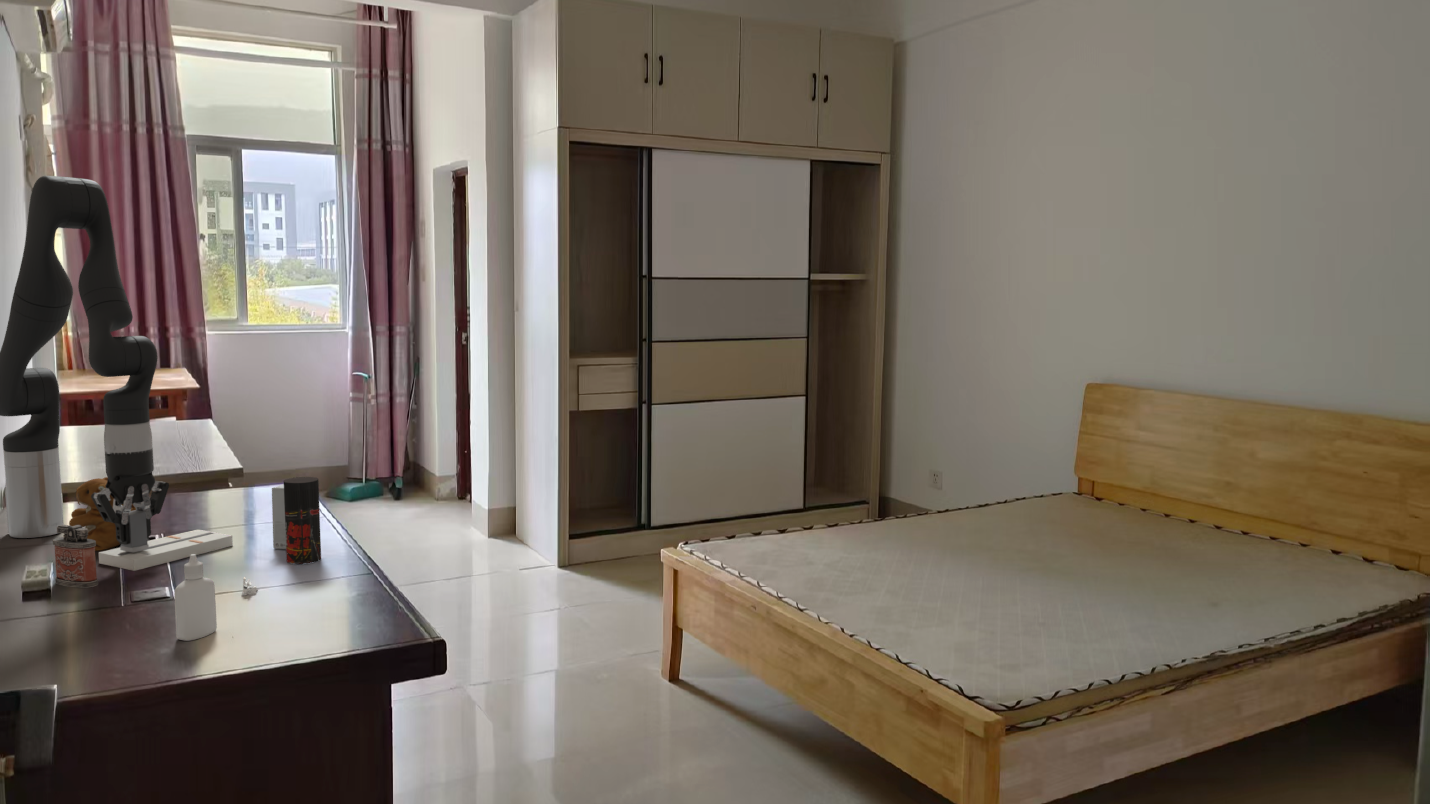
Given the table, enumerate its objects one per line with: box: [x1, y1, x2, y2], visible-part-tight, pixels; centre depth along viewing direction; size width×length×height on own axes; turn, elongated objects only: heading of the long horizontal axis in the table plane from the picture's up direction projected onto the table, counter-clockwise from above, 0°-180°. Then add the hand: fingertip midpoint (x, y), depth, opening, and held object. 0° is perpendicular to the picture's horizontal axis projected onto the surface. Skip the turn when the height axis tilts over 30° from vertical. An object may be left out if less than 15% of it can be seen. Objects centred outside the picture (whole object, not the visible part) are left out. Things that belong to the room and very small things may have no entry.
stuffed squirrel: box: [68, 476, 136, 552], centre depth 199 cm, size 10×14×13 cm
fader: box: [119, 510, 149, 552], centre depth 187 cm, size 4×3×7 cm
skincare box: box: [271, 483, 286, 550], centre depth 199 cm, size 6×4×12 cm
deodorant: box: [283, 476, 322, 565], centre depth 189 cm, size 6×6×15 cm
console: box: [98, 529, 234, 572], centre depth 193 cm, size 10×20×2 cm, turn 153°
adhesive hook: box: [240, 576, 259, 597], centre depth 170 cm, size 3×3×3 cm
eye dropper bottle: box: [173, 554, 218, 642], centre depth 149 cm, size 4×6×12 cm
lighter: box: [52, 524, 99, 589], centre depth 174 cm, size 8×3×10 cm, turn 71°
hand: (134, 541), depth 187 cm, fingers closed on fader, 3 cm apart
